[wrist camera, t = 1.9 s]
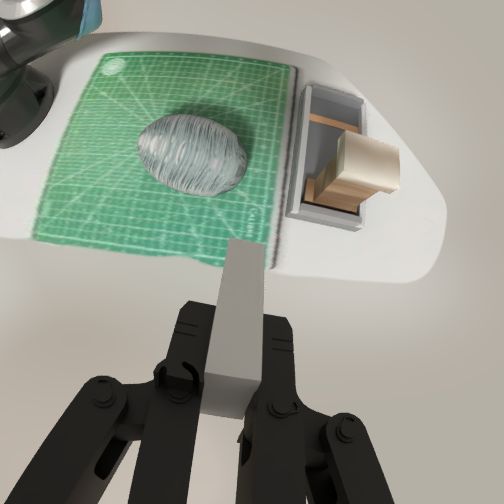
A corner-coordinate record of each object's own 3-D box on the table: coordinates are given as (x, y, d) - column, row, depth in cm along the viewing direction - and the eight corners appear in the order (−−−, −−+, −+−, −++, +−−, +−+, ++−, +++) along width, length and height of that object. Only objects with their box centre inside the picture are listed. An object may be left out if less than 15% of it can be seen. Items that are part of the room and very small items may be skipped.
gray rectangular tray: (355, 231, 40) (368, 225, 36) (285, 216, 39) (292, 207, 35) (358, 114, 43) (369, 101, 39) (300, 97, 42) (306, 81, 38)
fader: (353, 219, 38) (404, 188, 26) (301, 207, 37) (338, 168, 25) (355, 188, 38) (402, 149, 26) (305, 175, 38) (340, 128, 26)
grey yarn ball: (268, 140, 37) (242, 123, 28) (242, 209, 40) (210, 214, 30) (181, 114, 40) (139, 98, 30) (160, 175, 42) (115, 173, 33)
